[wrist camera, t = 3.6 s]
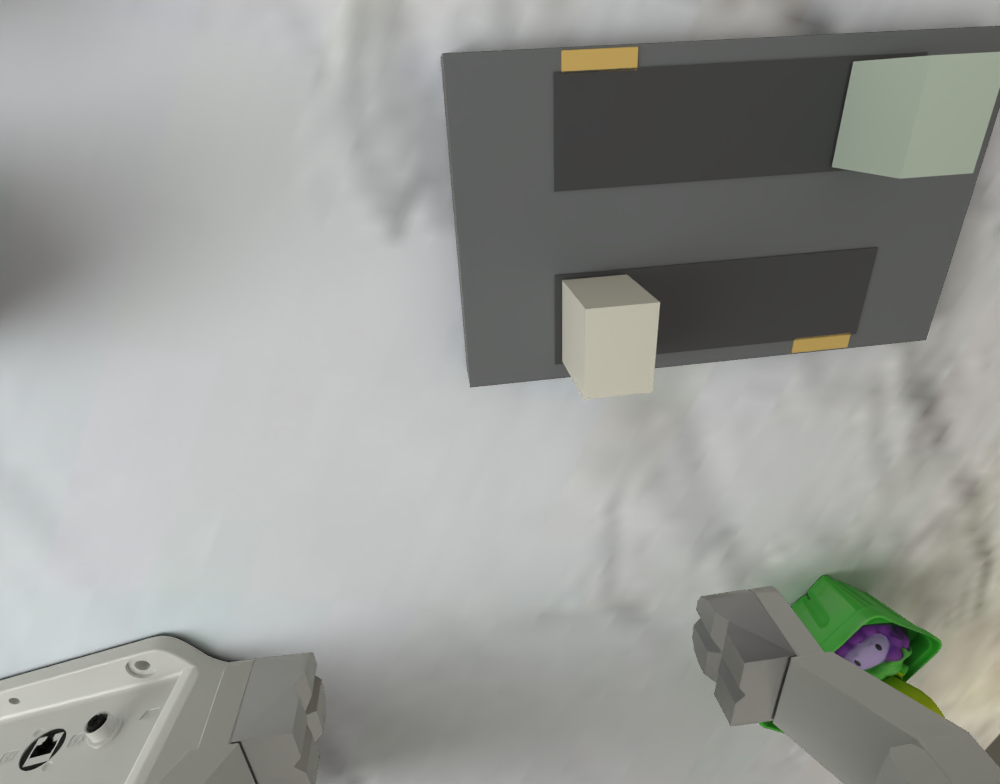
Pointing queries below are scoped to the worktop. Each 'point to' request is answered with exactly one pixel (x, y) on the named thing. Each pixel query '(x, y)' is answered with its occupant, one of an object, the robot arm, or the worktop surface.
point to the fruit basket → (866, 636)
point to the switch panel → (690, 197)
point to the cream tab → (609, 335)
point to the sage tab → (917, 114)
